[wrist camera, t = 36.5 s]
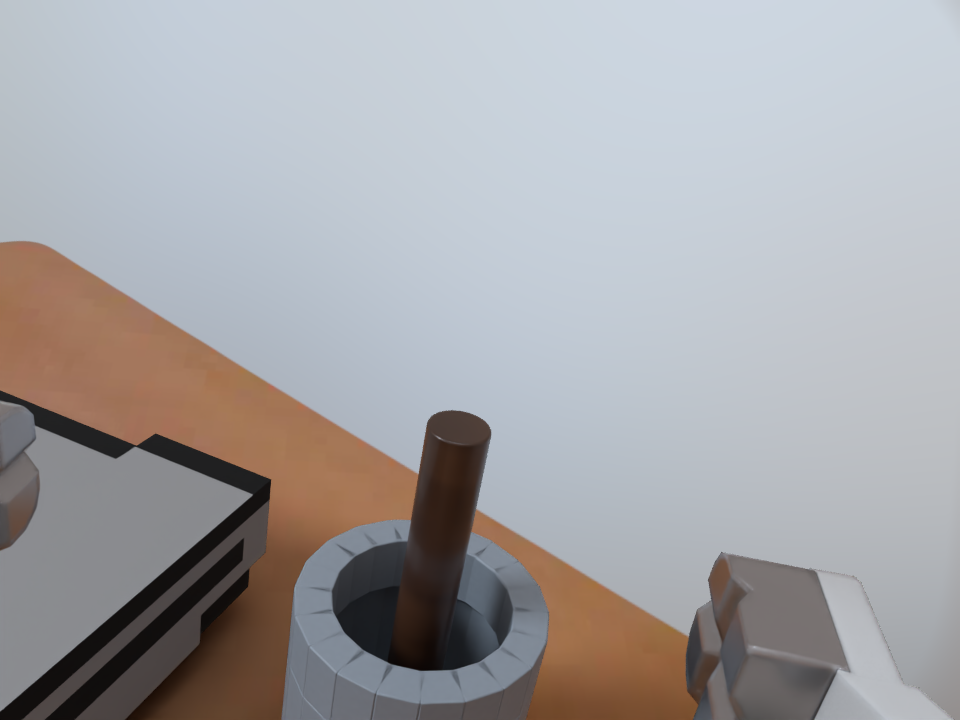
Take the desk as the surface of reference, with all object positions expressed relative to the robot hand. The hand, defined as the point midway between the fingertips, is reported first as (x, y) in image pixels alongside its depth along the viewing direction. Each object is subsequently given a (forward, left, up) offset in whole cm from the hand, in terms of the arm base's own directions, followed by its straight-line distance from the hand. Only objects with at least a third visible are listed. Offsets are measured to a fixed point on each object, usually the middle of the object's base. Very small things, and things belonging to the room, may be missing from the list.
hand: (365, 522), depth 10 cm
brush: (0, -17, -27) cm, 32 cm away
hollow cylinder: (0, -17, -28) cm, 32 cm away
